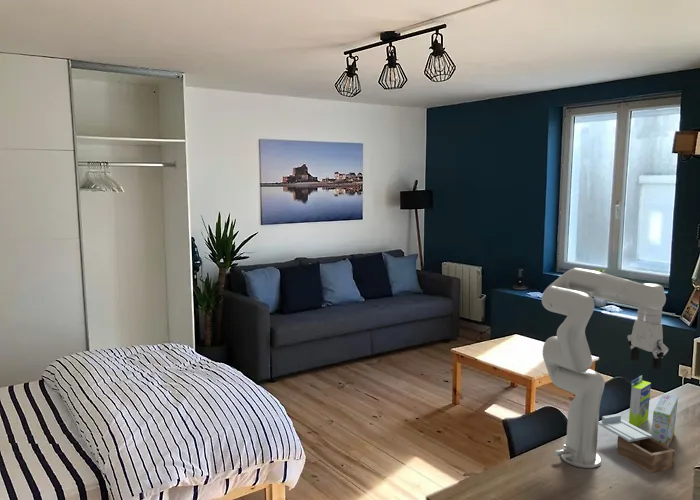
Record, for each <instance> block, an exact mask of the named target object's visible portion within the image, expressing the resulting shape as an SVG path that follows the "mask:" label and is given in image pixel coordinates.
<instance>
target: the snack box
mask: <svg viewBox="0 0 700 500" xmlns="http://www.w3.org/2000/svg"><path fill="white" fill-rule="evenodd" d="M678 402H679V396H677V395H672V394H669V393H668V394H667V393H662V395H661V397H660V398H659V401H658V403H657V404H656V406H655V408H654V410H653V414H652V415H653V416H652V425H651V433H650V434H651V435H653V436H652V439H654V440H656V441H658V442H660V443H662V444H664V445H666V446H667V447H669V448H670V445H671V443H672V441H673V438H674V435H675V428H676V417H677V412H678V411H677V410H678Z"/></svg>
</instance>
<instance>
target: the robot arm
mask: <svg viewBox="0 0 700 500" xmlns="http://www.w3.org/2000/svg"><path fill="white" fill-rule="evenodd" d="M594 298H596V299H600V300H605V301H607V302H613V303H618V304H620V305H621V304H622V305H628V306H635V307H638V308H637V312H636V315H637V318H636V319H635V320H634V323H633V326H632V332H631V334H628V335H627V337H626V338H627V341H628V345H629V348H630V351H631V352H630V360H631V361H639V359H640V350H643V351H646V352H648V353H649V352H652V355H653V357H652V365H651V369H652V370H657V369H658V370H659V369H661V365H662V359H663V358H664V357H665V356H666V355H667V353H668V352H669V347H668V346H666V344H665V343H664V342H663V339H664V335H663V334H664V333H663V324H662V316H663V307H664V306H665V304H666V301H667V297H666V293H665V289H664V286H663V285H661V284H658V283H652V282H648V283H640V282H637V281H632V280H630V279H627V278H623V277H619V276H615V275H612V274H608V273H606V272H602V271H598V270H594V269H593V270H592V269H588V268H587V269H586V268H580V267H573V268H570V269H568V270H567V271H566V272H564V273H563V274H561V275H560V276H558V278H557V279H555V280H554V281H553V282H551V283H550V284H549V285H548V286H547V287H546V288H545V289H544V291H543V293H542V295H541V304H542V307H544V309H545V310H547V311H548V312H551V313H556V314H559V315H563V316H566V318H564V321H563V322H562V323H561V324H560V325H559V326H558V328H557V330H556V335H555V336H554V335H553V336H550V337H548V338H547V339H546V340H545V342H544V343H543V347H542V359H543V362H544V364H545V367H546V369H547V373H548V376H549V378H550V380H551V383H552V384H553V385H554V386H555V387H557V388H560V389H561V390H564V391H566V392H569V393H571V394H573V395H575V397H574V398H573V400H571V402H569V404H568V409H567V424H566V441H565V442H566V443H565V444H563V446H562V448H561V449H556V450H554V451H553V454H554V456H555V457H560V458H561V459H562V460H563V461H564V462H566V463H568V464H569V465H571V466H574V467H579V468H583V469H592V468H593V469H594V468H596V467H599V466H600V465H601V464H602V458H601V456H600V455H599V454H598V453H597V451H598V435H599V434H598V431H599V424H598V423H599V422H600V406H601V401H602V397H603V393H604V390H605V378H604V377H603V376H602V374H600V373H599V372H598V371H595V369H592V368H591V367H592V364H593V359H592V352H591V350H590V345H589V343H588V340H587V336H586V327H588V326H587V325H588V323H589V322H590V318H591V317H592V315H593V313H594V310H595V301H594Z"/></svg>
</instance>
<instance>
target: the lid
mask: <svg viewBox="0 0 700 500" xmlns="http://www.w3.org/2000/svg"><path fill="white" fill-rule="evenodd" d="M598 426H600V427H602V428H604V429H606V430H608V431H610V432H611V433H613V434H615V435H617V437H618V436H620V437H621V438H623V439H625V440H627V441H629V442H632V441H637V440H643V439H648V438H652V436H653V435H651V433H649V432H647V431H645V430H643V429H641V428H639V427H636V426H634V425H632V424H630V423H629V421H626V420H624V419H623V418H622V415H621V414H619V413H615V414H610V415H609V414H608V415H603V416H601V421H599V422H598Z"/></svg>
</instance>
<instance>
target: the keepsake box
mask: <svg viewBox="0 0 700 500" xmlns="http://www.w3.org/2000/svg"><path fill="white" fill-rule="evenodd" d="M616 445H617V446H616V454H618V455H619V456H621V457H623V458H625V459H626V460H628V461H630V462H631V463H633V464H635V465H637V467H639V468H641V469H643V470H645V471H646V472H648V473H650V474H652V473H657V472H663V471H665V470H670V469H674V468H675V460H676V450H675V449H673V448H671V447H670V446H669V447H667V446H666V445H664V444H662V443H660V442H658V441H656V440H654V439H652V438H648V439H643V440H637V441H632V442H629V441H627V440H625V439H623V438H621V437H620V436H618V435H617V443H616Z"/></svg>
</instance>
